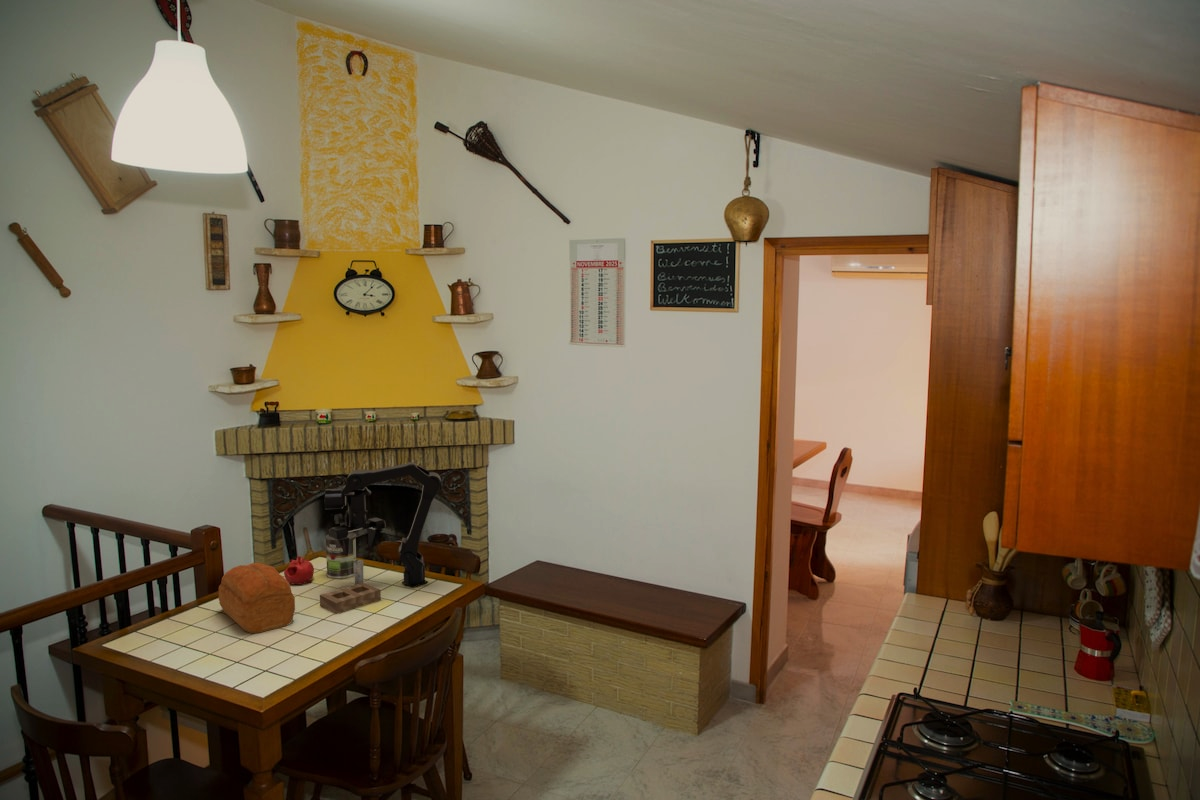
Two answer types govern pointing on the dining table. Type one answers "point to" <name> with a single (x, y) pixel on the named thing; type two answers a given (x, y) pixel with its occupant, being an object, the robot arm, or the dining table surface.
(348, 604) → the socket block
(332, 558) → the coffee can
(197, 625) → the dining table surface
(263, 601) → the bread
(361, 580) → the peg
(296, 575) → the pomegranate
